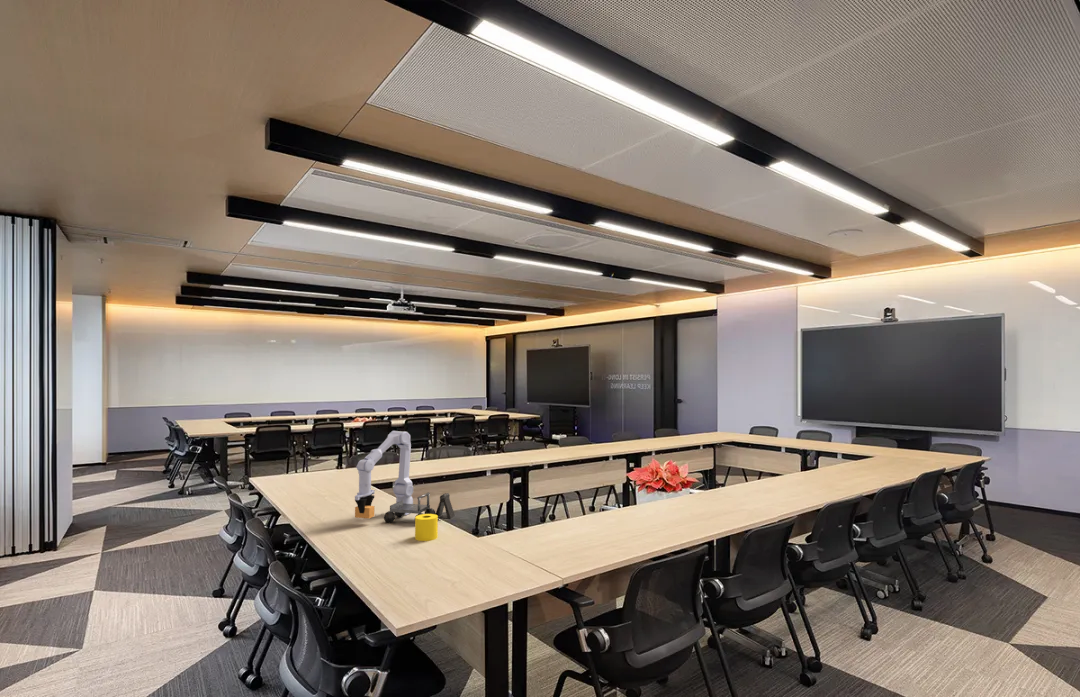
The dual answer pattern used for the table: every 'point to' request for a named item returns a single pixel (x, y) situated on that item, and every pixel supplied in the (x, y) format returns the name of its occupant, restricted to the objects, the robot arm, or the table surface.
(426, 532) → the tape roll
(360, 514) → the orange rectangular block
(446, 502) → the grey a-frame stand
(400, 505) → the trolley
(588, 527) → the table surface
